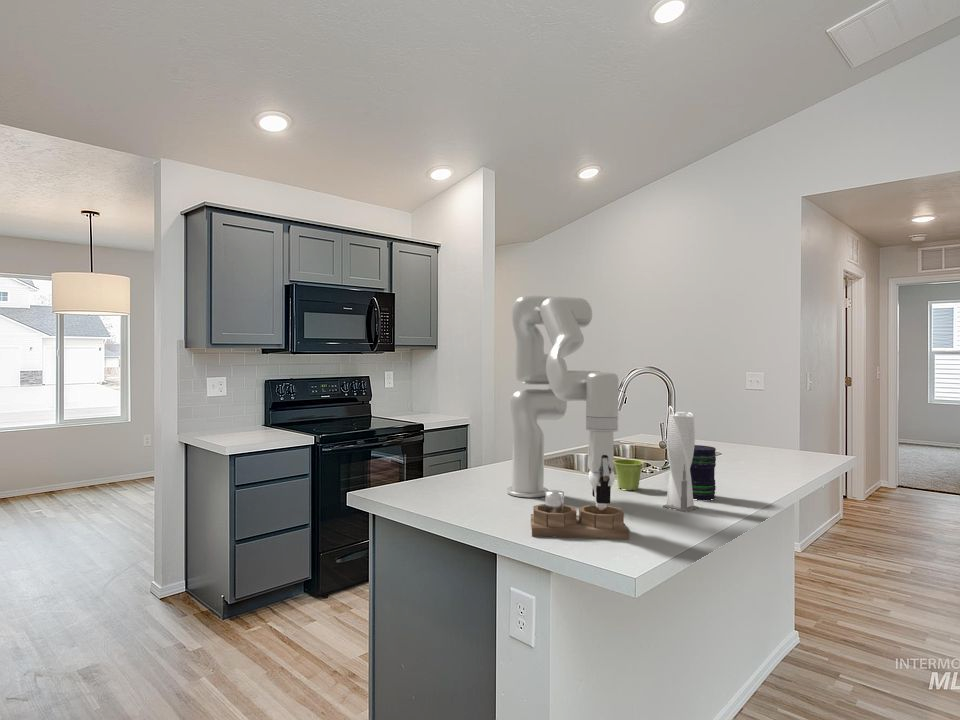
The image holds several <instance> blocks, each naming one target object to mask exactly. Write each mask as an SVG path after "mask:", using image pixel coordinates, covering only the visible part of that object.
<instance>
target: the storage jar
mask: <svg viewBox="0 0 960 720" xmlns="http://www.w3.org/2000/svg"><path fill="white" fill-rule="evenodd" d="M716 450H717V449H716V447H714V446H709V445H700V444H699V445H698V444H697V445H696V444H695V445H694V453H693V459H692V463H691V467H690V474H691V481H692V491H693V499H697V500H696V501H698V500H710V501H712V500H711V499H714V498H715V499H716V496H715V494H716V489H717V487H716V480H715V479H716V478H715V475H716V474H715V473H716V472H715V470H716V469H715V467H716V461H717V456H716ZM715 499H714V500H715Z"/></svg>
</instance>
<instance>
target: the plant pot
mask: <svg viewBox="0 0 960 720" xmlns="http://www.w3.org/2000/svg"><path fill="white" fill-rule="evenodd" d="M644 464H645V463H644V461H642V460H638V459H628V458H627V459H622V458H620V459H615V460H614V464H613V465H614V468H615V473H616V480H617V488H618V487H619V488H618V489H620V488H621V489H626V490H630V491H637V490H636V489H638V490H639V486H640V485H639V484H640V479H641V473H642V469H643V465H644ZM621 489H620V490H621ZM626 490H625V491H626Z"/></svg>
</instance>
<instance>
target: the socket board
mask: <svg viewBox="0 0 960 720" xmlns="http://www.w3.org/2000/svg"><path fill="white" fill-rule="evenodd" d="M532 512H533V513H530V529H531V530H532V531H531V537H536V536H553V537H552V538H570V537H588V538H587V539H604V538H607V539H608V540H610V539H611V540H630V530H629V528H628V527H627V525H626V524H625V522H624V519H625V514H624V513H625V512H624V511H623V509H622V508H621V507H616V506H612V505H610V504H609V505H608V504H607V507H606V508H605V509H604V510H599V508H597V507H596V504H587V505H583V506H579V507H578V513H577V509H576V507H575V506H572V505H567V504H564V513H547V512H545V503H540V504H537V505H534V506H533V511H532ZM577 514H578V515H577ZM554 536H556V537H554Z"/></svg>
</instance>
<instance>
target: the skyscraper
mask: <svg viewBox="0 0 960 720" xmlns="http://www.w3.org/2000/svg"><path fill="white" fill-rule="evenodd" d="M671 412H672V414H671ZM695 436H696V431H695V417H694V414H693V413H692V412H691V411H689V412H685V411H676V412H675V410H674V409H673V406H671V405H669V406H668V419H667V428H666V450H667V458H668V464H669V469H670V471H669V477H668V485H667V486H668V487H667V492H666V493H667V494H666V504H663V505H662V508H664V507H667V508H666V509H669V508H671V509H670V510H673V509H676V510H675V511H678V510H680V511H679V512H682V511H685V512H684V513H687V512H686V511H688V512H690V511H689V510H691V511H694V510H693V509H695V510H697V509H696V508H698V509H699V508H700V506H697V505H694V500H693V491H692V481H691V474H690V467H691V463H692V459H693V453H694V445H696V444H695V443H696V442H695V441H696V440H695V439H696V437H695Z"/></svg>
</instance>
